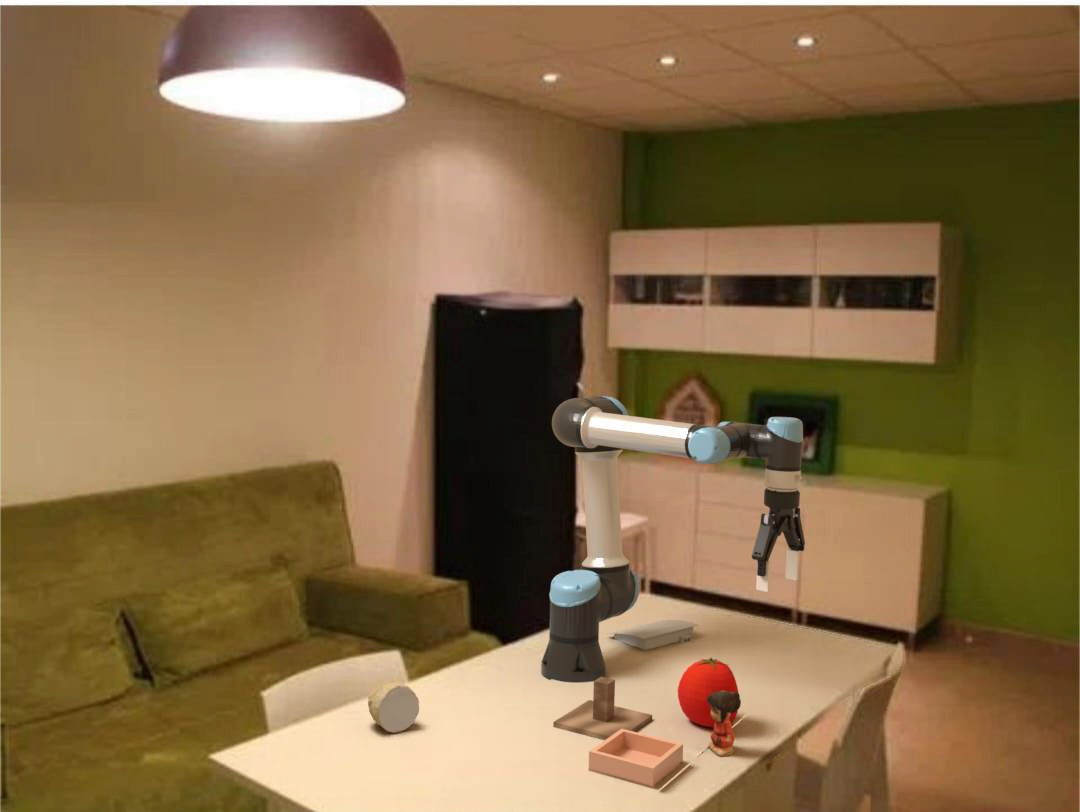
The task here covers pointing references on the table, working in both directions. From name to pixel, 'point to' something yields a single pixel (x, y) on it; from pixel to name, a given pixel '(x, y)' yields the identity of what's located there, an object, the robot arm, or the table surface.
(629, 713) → the lid
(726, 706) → the figurine
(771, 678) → the table surface
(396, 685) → the cream grey rounded piece
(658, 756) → the dish
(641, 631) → the book
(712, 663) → the tomato
